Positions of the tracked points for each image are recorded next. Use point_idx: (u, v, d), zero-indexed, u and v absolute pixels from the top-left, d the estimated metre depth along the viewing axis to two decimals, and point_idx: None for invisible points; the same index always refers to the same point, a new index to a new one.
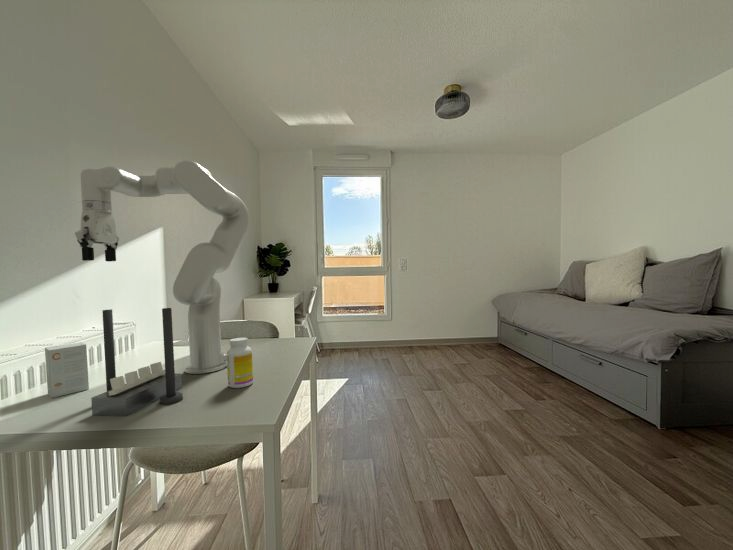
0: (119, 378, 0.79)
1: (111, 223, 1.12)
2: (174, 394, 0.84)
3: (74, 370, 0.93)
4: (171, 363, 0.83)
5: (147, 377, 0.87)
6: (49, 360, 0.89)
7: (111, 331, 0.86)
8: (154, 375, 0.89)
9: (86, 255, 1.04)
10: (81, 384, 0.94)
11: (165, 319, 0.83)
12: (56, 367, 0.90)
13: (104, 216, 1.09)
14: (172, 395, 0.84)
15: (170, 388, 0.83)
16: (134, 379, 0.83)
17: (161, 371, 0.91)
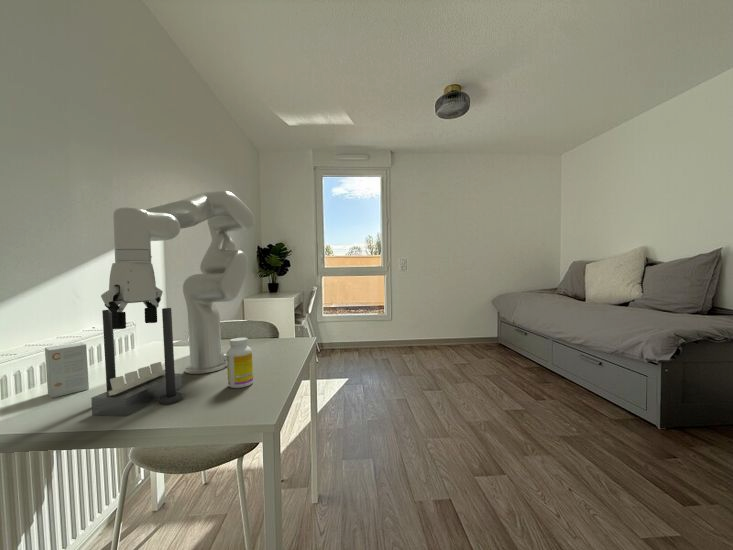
0: (119, 378, 0.79)
1: None
2: (174, 394, 0.84)
3: (74, 370, 0.93)
4: (171, 363, 0.83)
5: (147, 377, 0.87)
6: (49, 360, 0.89)
7: (111, 331, 0.86)
8: (154, 375, 0.89)
9: None
10: (81, 384, 0.94)
11: (165, 319, 0.83)
12: (56, 367, 0.90)
13: None
14: (172, 395, 0.84)
15: (170, 388, 0.83)
16: (134, 379, 0.83)
17: (161, 371, 0.91)
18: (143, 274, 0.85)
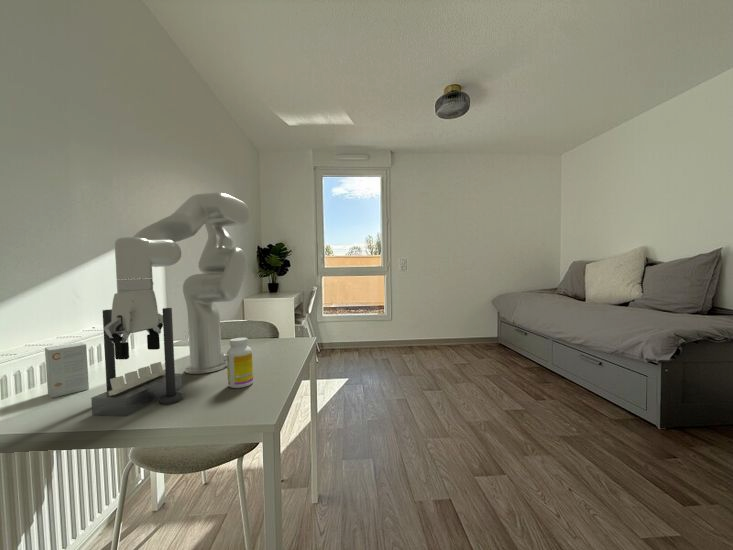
0: (119, 378, 0.79)
1: None
2: (174, 394, 0.84)
3: (74, 370, 0.93)
4: (171, 363, 0.84)
5: (147, 377, 0.87)
6: (49, 360, 0.89)
7: None
8: (154, 375, 0.89)
9: None
10: (81, 384, 0.94)
11: (166, 319, 0.83)
12: (56, 367, 0.90)
13: None
14: (172, 395, 0.84)
15: (170, 388, 0.83)
16: (134, 379, 0.83)
17: (161, 371, 0.91)
18: (145, 303, 0.85)
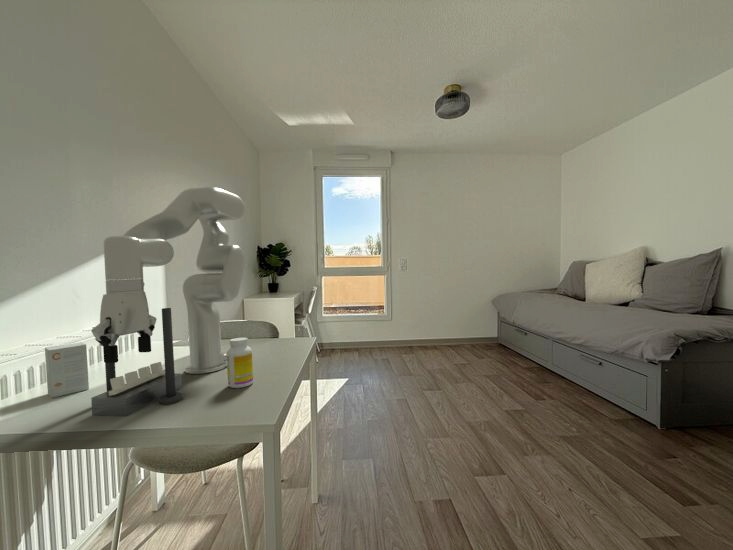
0: (119, 378, 0.79)
1: None
2: (174, 394, 0.84)
3: (74, 370, 0.93)
4: (171, 363, 0.83)
5: (147, 377, 0.87)
6: (49, 360, 0.89)
7: None
8: (154, 375, 0.89)
9: None
10: (81, 384, 0.94)
11: (165, 319, 0.83)
12: (56, 367, 0.90)
13: None
14: (172, 395, 0.84)
15: (170, 388, 0.83)
16: (134, 379, 0.83)
17: (161, 371, 0.91)
18: (135, 304, 0.82)
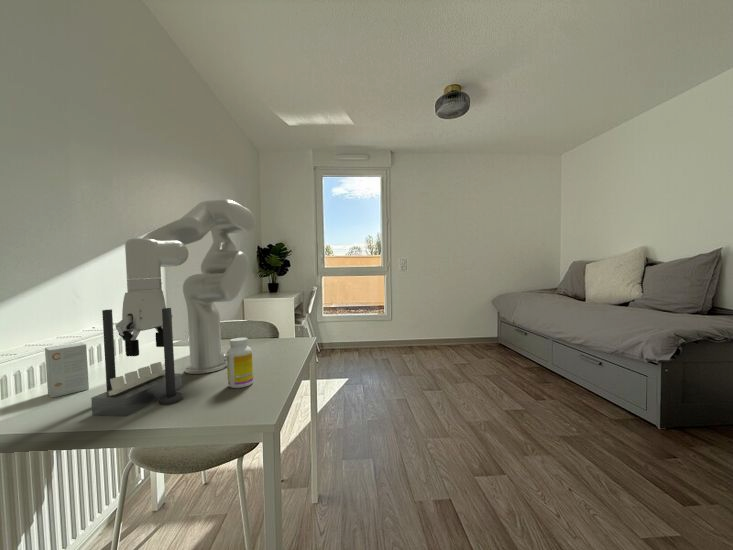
0: (119, 378, 0.79)
1: None
2: (174, 394, 0.84)
3: (74, 370, 0.93)
4: (171, 363, 0.83)
5: (147, 377, 0.87)
6: (49, 360, 0.89)
7: (111, 331, 0.86)
8: (154, 375, 0.89)
9: None
10: (81, 384, 0.94)
11: (165, 319, 0.83)
12: (56, 367, 0.90)
13: None
14: (172, 395, 0.84)
15: (170, 388, 0.83)
16: (134, 379, 0.83)
17: (161, 371, 0.91)
18: (154, 302, 0.88)
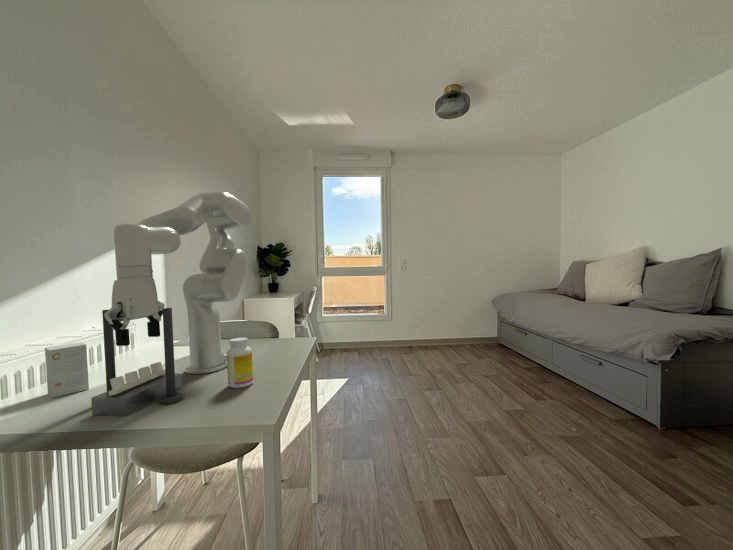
0: (119, 378, 0.79)
1: None
2: (174, 394, 0.84)
3: (74, 370, 0.93)
4: (171, 363, 0.84)
5: (147, 377, 0.87)
6: (49, 360, 0.89)
7: (111, 331, 0.86)
8: (154, 375, 0.89)
9: None
10: (81, 384, 0.94)
11: (166, 319, 0.83)
12: (56, 367, 0.90)
13: None
14: (172, 395, 0.84)
15: (170, 388, 0.83)
16: (134, 379, 0.83)
17: (161, 371, 0.91)
18: (145, 290, 0.85)
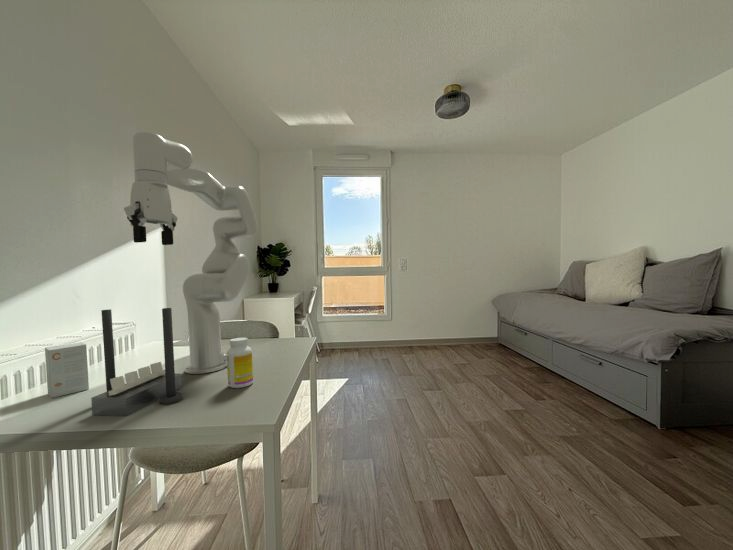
0: (119, 378, 0.79)
1: None
2: (174, 394, 0.84)
3: (74, 370, 0.93)
4: (171, 363, 0.83)
5: (147, 377, 0.87)
6: (49, 360, 0.89)
7: (110, 331, 0.86)
8: (154, 375, 0.89)
9: None
10: (81, 384, 0.94)
11: (165, 319, 0.83)
12: (56, 367, 0.90)
13: None
14: (172, 395, 0.84)
15: (170, 388, 0.83)
16: (134, 379, 0.83)
17: (161, 371, 0.91)
18: (160, 195, 0.91)
